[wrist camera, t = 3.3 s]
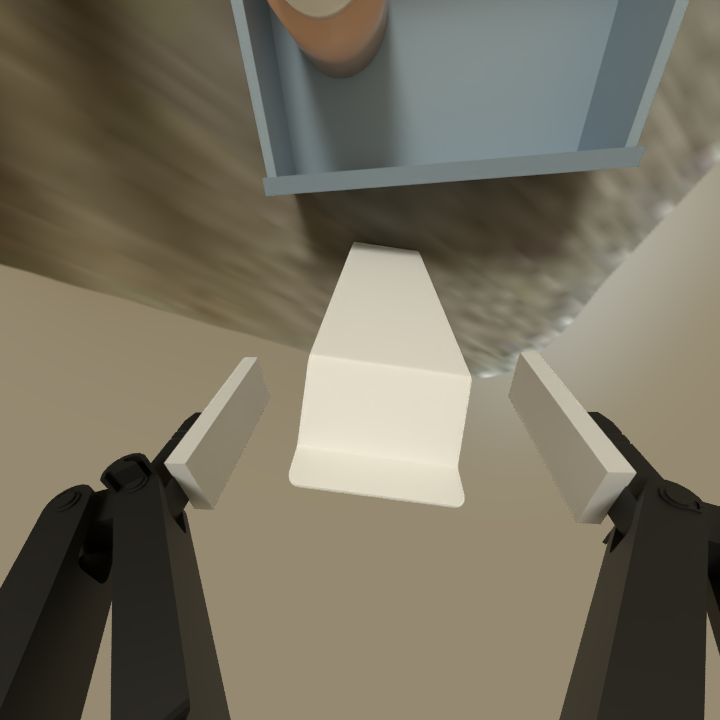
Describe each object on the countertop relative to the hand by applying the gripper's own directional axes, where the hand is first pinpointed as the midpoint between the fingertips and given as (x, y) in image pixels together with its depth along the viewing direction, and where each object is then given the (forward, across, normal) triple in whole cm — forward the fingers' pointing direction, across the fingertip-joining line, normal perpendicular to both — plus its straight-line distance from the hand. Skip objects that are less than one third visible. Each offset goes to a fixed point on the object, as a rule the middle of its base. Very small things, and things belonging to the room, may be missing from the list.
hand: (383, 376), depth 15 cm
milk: (+15, 0, 0) cm, 15 cm away
